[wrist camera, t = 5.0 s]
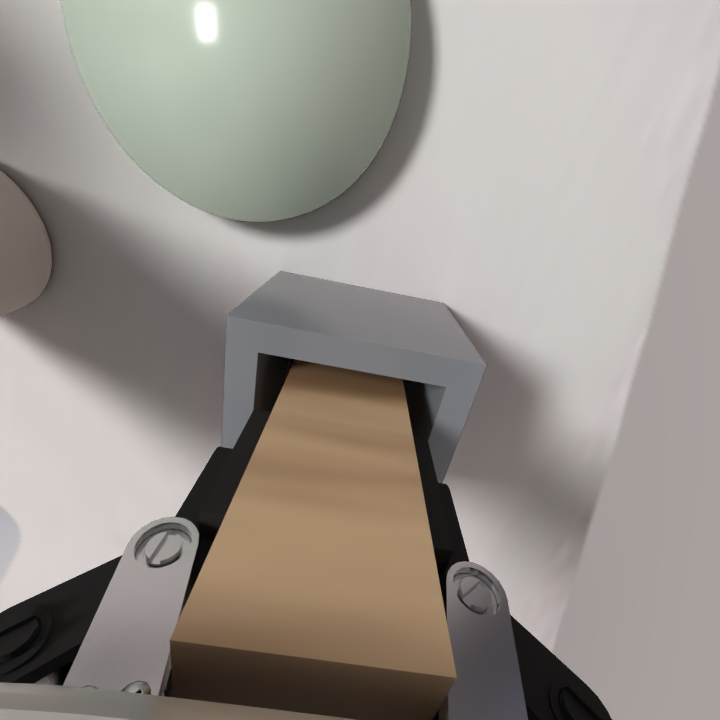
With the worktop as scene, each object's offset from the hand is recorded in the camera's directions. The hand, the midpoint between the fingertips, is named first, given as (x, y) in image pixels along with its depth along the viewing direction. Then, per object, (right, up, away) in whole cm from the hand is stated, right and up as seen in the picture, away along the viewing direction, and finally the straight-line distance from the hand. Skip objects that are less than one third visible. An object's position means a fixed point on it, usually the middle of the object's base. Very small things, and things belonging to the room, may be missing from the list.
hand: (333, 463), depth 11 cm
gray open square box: (0, +3, +7) cm, 8 cm away
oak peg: (0, +3, +7) cm, 8 cm away
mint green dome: (-3, +15, +2) cm, 16 cm away
